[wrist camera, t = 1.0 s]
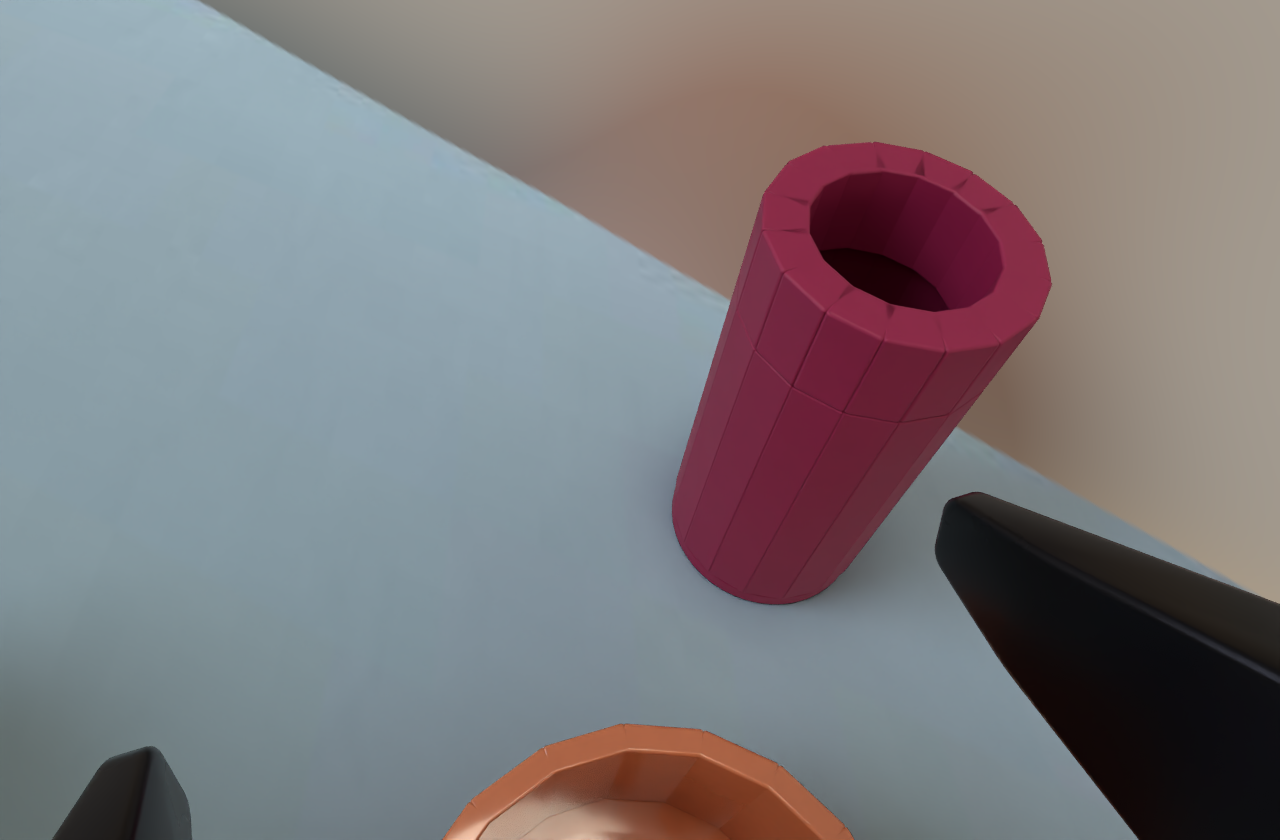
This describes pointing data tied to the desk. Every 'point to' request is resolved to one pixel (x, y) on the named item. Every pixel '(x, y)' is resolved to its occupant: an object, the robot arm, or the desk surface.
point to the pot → (646, 793)
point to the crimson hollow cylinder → (848, 359)
